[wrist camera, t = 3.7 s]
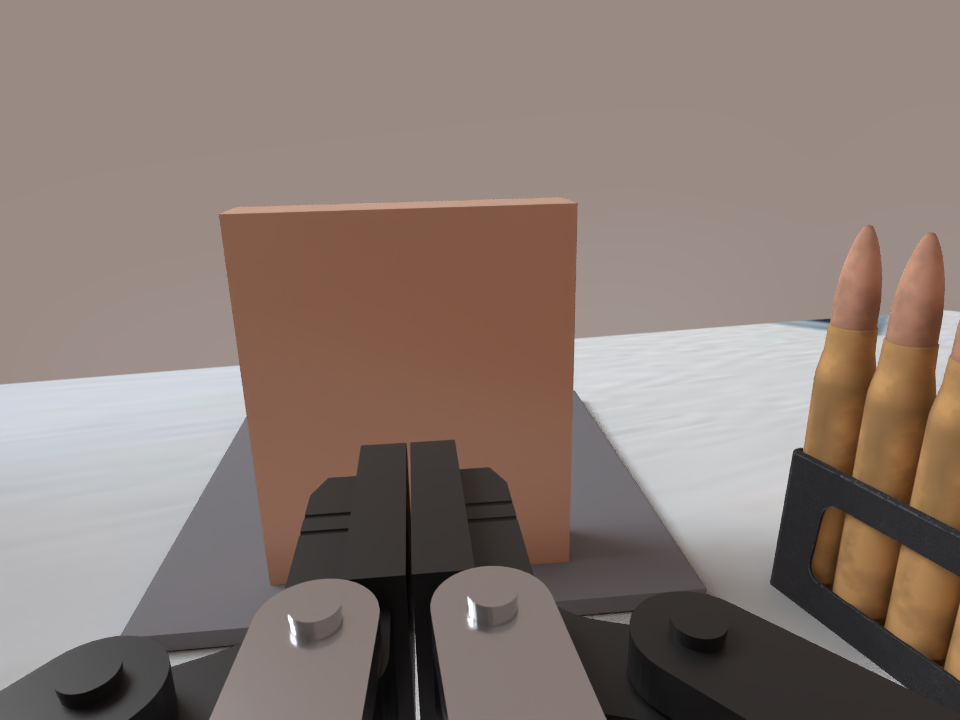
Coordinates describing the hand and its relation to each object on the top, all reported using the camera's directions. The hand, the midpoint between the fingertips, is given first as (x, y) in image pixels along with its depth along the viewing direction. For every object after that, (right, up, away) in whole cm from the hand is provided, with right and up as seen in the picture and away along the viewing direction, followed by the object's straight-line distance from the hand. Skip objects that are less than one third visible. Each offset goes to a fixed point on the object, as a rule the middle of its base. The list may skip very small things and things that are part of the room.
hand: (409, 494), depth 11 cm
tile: (-1, -5, +13) cm, 14 cm away
